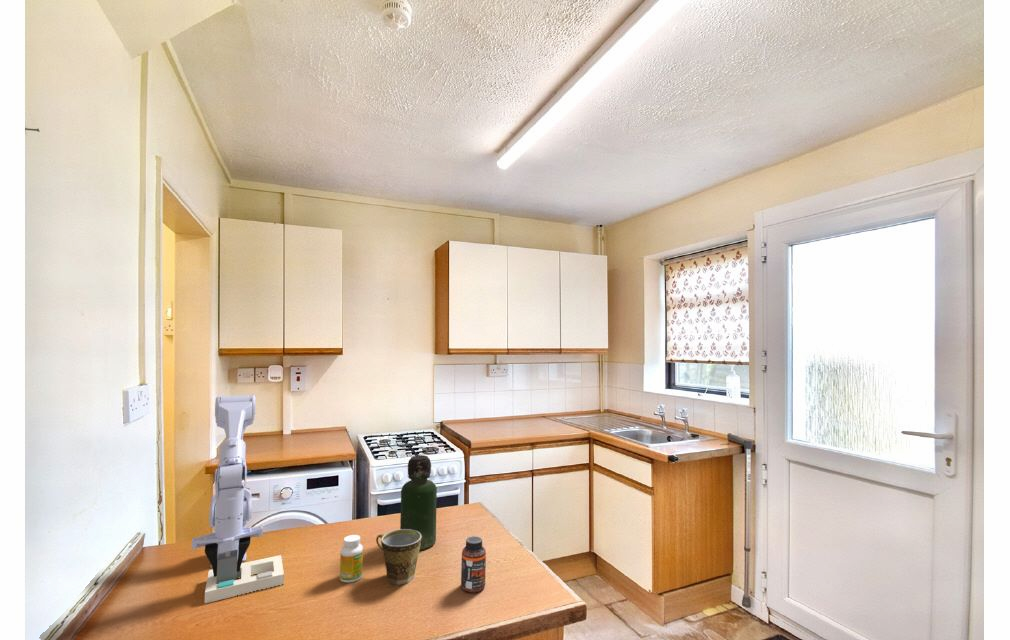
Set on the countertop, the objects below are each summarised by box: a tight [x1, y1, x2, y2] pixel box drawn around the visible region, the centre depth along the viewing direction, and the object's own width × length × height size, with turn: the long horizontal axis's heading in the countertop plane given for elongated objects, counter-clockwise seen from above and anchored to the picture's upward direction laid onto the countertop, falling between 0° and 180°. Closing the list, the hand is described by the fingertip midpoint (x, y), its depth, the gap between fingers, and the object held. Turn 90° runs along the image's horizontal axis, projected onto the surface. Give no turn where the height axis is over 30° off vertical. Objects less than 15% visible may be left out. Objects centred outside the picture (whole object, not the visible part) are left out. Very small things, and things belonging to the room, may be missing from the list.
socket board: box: [204, 554, 285, 604], centre depth 108 cm, size 11×16×3 cm
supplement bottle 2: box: [460, 536, 487, 594], centre depth 107 cm, size 6×6×11 cm
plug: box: [217, 550, 238, 584], centre depth 106 cm, size 4×4×6 cm
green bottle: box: [399, 454, 438, 551], centre depth 131 cm, size 10×10×25 cm
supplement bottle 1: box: [339, 534, 364, 583], centre depth 111 cm, size 5×5×10 cm
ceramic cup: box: [375, 529, 421, 586], centre depth 112 cm, size 13×10×10 cm
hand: (227, 572), depth 106 cm, fingers closed on plug, 4 cm apart
